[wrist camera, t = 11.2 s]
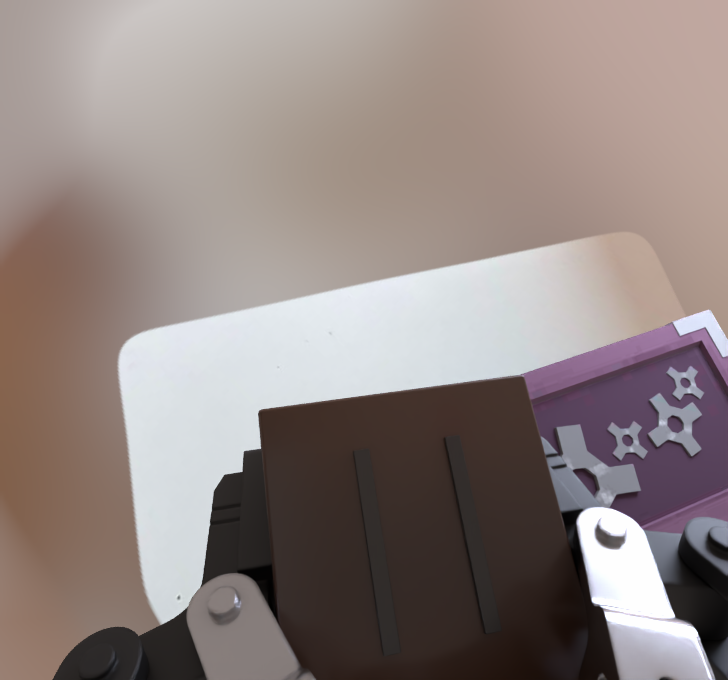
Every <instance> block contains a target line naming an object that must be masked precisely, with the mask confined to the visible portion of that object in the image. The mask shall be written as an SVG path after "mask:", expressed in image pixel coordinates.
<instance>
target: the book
mask: <svg viewBox="0 0 728 680" xmlns="http://www.w3.org/2000/svg"><path fill="white" fill-rule="evenodd" d="M521 375H524V377H525V380H526V384H527V388H528V391H529V395H530V399H531V403H532V406H533V410H534V414H535V418H536V421H537V425H538V429H539V432H540V436H541V437H543V438H544V439H546V440H547V441H548V442H549V443H550V445H551V446H552V447H553V448H554V449H555V451H556V452H557V453H558V456H560V457H561V458H562V459H563V460H564V461H565V463H566V464H567V467H570V469H571V470H572V471H573V472H574V473H575V475H576V476H577V477H578V478H579V479H580V480H581V482H582V483H583V484H584V485H585V486H586V488H587V489H588V490H589V491H590V492H591V494H592V495H593V496H594V497H595V498H596V500H597V501H598V502H599V503H600V504H601V506H602V507H603V508H609V509H613V510H616V511H618V512H621V513H623V514H625V515H627V516H628V517H630V518H631V519H633V520H634V521H635V522H636V523H637V524H638V525H639V526H640V527H641V528H642V530H648V531H658V532H668V533H678V534H682V533H683V530H684V528H685V525H686V523H687V522H688V521H689V520H691V519H694V518H697V517H711V518H716V519H720V520H723V521H726V522H728V340H727V338H726V336H725V335H724V333H723V331H722V330H721V328H720V326H719V324H718V323H717V321H716V319H715V318H714V316H713V314H712V312H711V311H710V310H707V311H704V312H701V313H697V314H695V315H691V316H688V317H685V318H682V319H679V320H676V321H674V322H671V323H669V324H667V325H665V326H664V327H661V328H658V329H655V330H652V331H649V332H646V333H643V334H640V335H637V336H634V337H631V338H628V339H625V340H622V341H619V342H616V343H613V344H610V345H607V346H604V347H601V348H598V349H595V350H592V351H590V352H587V353H584V354H581V355H578V356H575V357H572V358H569V359H566V360H563V361H560V362H557V363H554V364H551V365H548V366H545V367H542V368H539V369H536V370H533V371H530V372H527V373H524V374H521Z"/></svg>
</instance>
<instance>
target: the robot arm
mask: <svg viewBox="0 0 728 680" xmlns="http://www.w3.org/2000/svg"><path fill="white" fill-rule="evenodd" d="M541 440H542V444H543V447H544V451H545V455H546V458H547V462H548V466H549V470H550V473H551V477H552V481H553V485H554V488H555V492H556V496H557V499H558V503H559V507H560V511H561V514H562V518H563V522H564V526H565V529H566V533H567V537H568V540H569V544H570V548H571V552H572V555H573V559H574V563H575V567H576V570H577V574H578V578H579V581H580V585H581V589H582V593H583V598H584V604H585V609H586V614H587V621H588V641H587V646H586V650H585V653H584V657H583V661H582V664H581V668H580V671H579V680H728V522H726V521H723V520H720V519H716V518H711V517H697V518H694V519H691V520H689V521H688V522H687V523H686V525H685V528H684V530H683V533H682V534H678V533H668V532H658V531H648V530H642V528H641V527H640V526H639V525H638V524H637V523H636V522H635V521H634V520H633V519H631V518H630V517H628V516H627V515H625V514H623V513H621V512H618V511H616V510H613V509H609V508H603V507H602V506H601V504H600V503H599V502H598V501H597V500H596V498H595V497H594V496H593V495H592V494H591V492H590V491H589V490H588V489H587V488H586V486H585V485H584V484H583V483H582V482H581V480H580V479H579V478H578V477H577V476H576V475H575V473H574V472H573V471H572V470H571V469H570V467H567V464H566V463H565V461H564V460H563V459H562V458H561V457H560V456H558V453H557V452H556V451H555V449H554V448H553V447H552V446H551V445H550V443H549V442H548V441H547V440H546V439H544V438H543V437H541ZM53 680H316V679H315V677H314V676H313V674H312V673H311V671H310V670H309V669H308V668H305V669H304V668H302V666H301V665H300V663H299V662H298V660H297V658H296V656H295V654H294V653H293V651H292V649H291V647H290V645H289V643H288V641H287V639H286V637H285V636H284V634H283V632H282V630H281V628H280V626H279V624H278V622H277V618H276V607H275V596H274V585H273V573H272V562H271V551H270V540H269V528H268V517H267V506H266V495H265V484H264V472H263V461H262V450H261V449H256V450H249V451H244V457H243V472H240V473H233V474H227V475H224V477H223V478H222V480H221V481H220V483H219V484H218V486H217V487H216V489H215V490H214V496H213V504H212V512H211V519H210V527H209V535H208V542H207V550H206V558H205V566H204V574H203V580H202V585H201V587H200V589H199V590H198V591H197V592H196V593H195V595H194V596H193V597H192V599H191V601H190V603H189V606H188V607H187V608H186V609H185V610H184V611H183V612H182V613H181V614H179V615H178V616H176V617H175V618H174V619H172V620H170V621H168V622H166V623H164V624H162V625H160V626H158V627H156V628H154V629H152V630H150V631H148V632H146V633H144V634H142V635H140V636H138V635H137V634H136V633H135V632H134V631H132V630H130V629H128V628H125V627H111V628H107V629H103V630H101V631H98V632H96V633H94V634H92V635H90V636H89V637H87V638H86V639H84V640H83V641H82V642H80V643H79V644H78V645H77V646H76V647H74V649H73V650H72V651H71V652H70V653H69V654H68V655H67V656H66V658H65V659H64V660H63V662H62V664H61V665H60V667H59V669H58V671H57V672H56V674H55V676H54V678H53Z"/></svg>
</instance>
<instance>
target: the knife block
mask: <svg viewBox="0 0 728 680" xmlns="http://www.w3.org/2000/svg"><path fill="white" fill-rule="evenodd" d="M258 416H259V427H260V439H261V450H262V461H263V472H264V484H265V495H266V506H267V517H268V528H269V540H270V551H271V562H272V573H273V585H274V596H275V607H276V618H277V622H278V624H279V626H280V628H281V630H282V632H283V634H284V636H285V637H286V639H287V641H288V643H289V645H290V647H291V649H292V651H293V653H294V654H295V656H296V658H297V660H298V662H299V663H300V665H301V666H302V668H304V669H305V668H308V669H309V670H310V671H311V673H312V674H313V676H314V677H315V679H316V680H579V671H580V668H581V664H582V661H583V657H584V653H585V650H586V646H587V641H588V621H587V614H586V609H585V604H584V598H583V593H582V589H581V585H580V581H579V578H578V574H577V570H576V567H575V563H574V559H573V555H572V552H571V548H570V544H569V540H568V537H567V533H566V529H565V526H564V522H563V518H562V514H561V511H560V507H559V503H558V499H557V496H556V492H555V488H554V485H553V481H552V477H551V473H550V470H549V466H548V462H547V458H546V455H545V451H544V447H543V444H542V440H541V436H540V432H539V429H538V425H537V421H536V418H535V414H534V410H533V406H532V403H531V399H530V395H529V391H528V388H527V384H526V380H525V377H524V375H515V376H508V377H500V378H493V379H485V380H478V381H470V382H463V383H456V384H448V385H441V386H433V387H426V388H418V389H411V390H403V391H396V392H388V393H381V394H373V395H366V396H358V397H351V398H344V399H336V400H329V401H321V402H314V403H306V404H299V405H291V406H284V407H276V408H269V409H262V410H260V411H259V413H258Z"/></svg>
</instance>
